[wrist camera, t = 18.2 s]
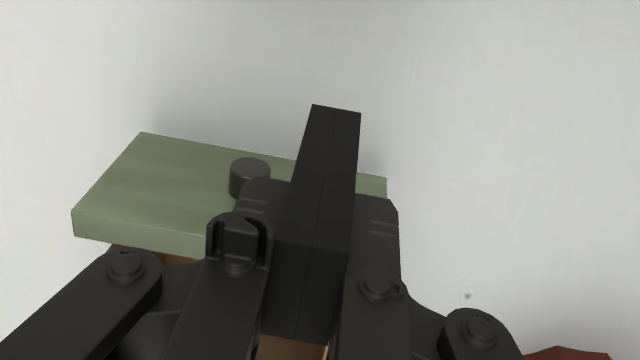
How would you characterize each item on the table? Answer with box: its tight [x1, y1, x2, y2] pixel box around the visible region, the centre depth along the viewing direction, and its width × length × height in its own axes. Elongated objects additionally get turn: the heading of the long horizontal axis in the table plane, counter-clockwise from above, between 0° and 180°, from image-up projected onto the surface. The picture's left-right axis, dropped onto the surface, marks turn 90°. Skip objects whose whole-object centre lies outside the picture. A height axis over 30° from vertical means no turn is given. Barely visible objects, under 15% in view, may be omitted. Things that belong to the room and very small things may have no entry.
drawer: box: [71, 132, 387, 360], centre depth 24 cm, size 15×11×6 cm
